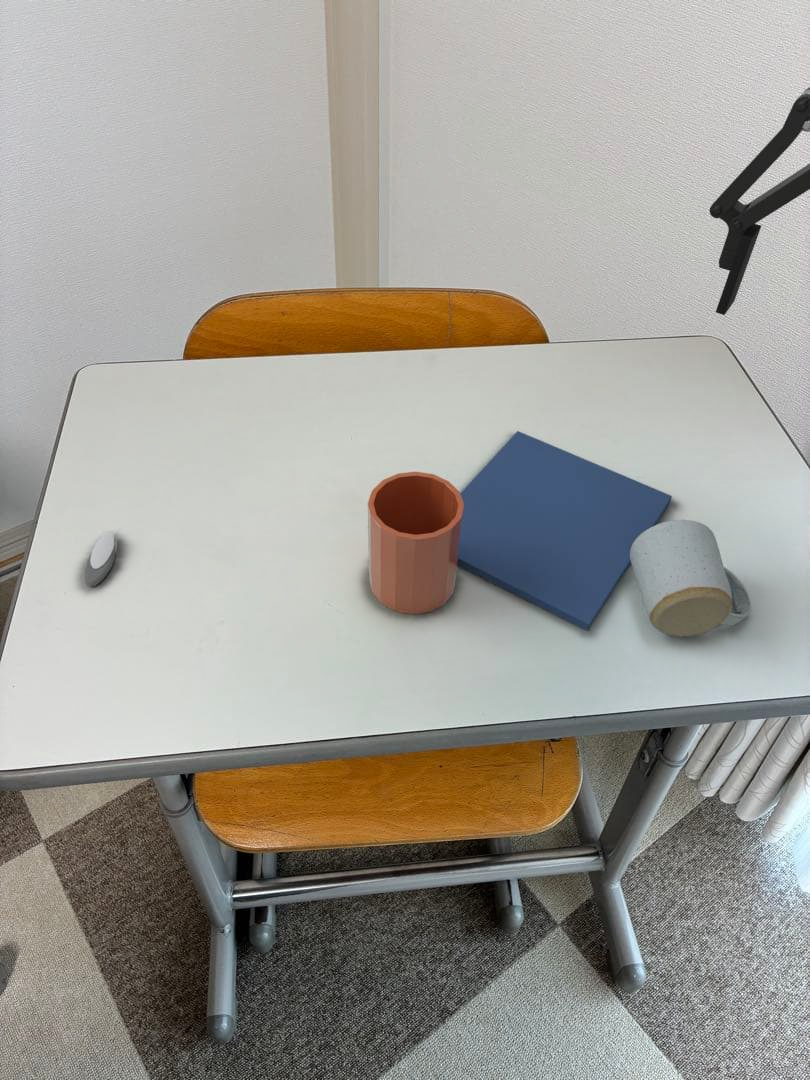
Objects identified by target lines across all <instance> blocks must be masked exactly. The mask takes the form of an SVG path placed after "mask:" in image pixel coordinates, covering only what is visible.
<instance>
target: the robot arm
mask: <svg viewBox="0 0 810 1080" xmlns="http://www.w3.org/2000/svg"><path fill="white" fill-rule="evenodd" d="M802 132H805V133H810V86H809V87H807V88H806V89H805V90H804V91H803V92H802V93H801V94H800V95H799V96H798V97H797V98H796V99H795V101H794V103H793V104H792V106H791V109H790V110H789V113H788V114H787V117H786V119H785V122H784V124H783V126H782V128H781V129H780V130H779V131H778V132H777V133H776V134H775V135H774V136H773V137H772V139H770V140H769V142H767V144H766V145H765V146H764V147H763V148H762V149H761V150H760V152H758V154H757V155H756V156H754V158H753V159H752V160H751V161H750V162H749V163H748V164H747V166H746V167H745V168H743V170H742V171H741V172H740V173H739V174H738V175H737V176H736V177H735V179H734V180H733V181H732V182H731V183H730V184H729V185H728V186H727V187H726V189H724V191H722V193H720V195H719V196H718V197H717V198H716V199H715V201H713V203H712V204H711V206H710V207H709V209H708V210H709V214H710V216H711V217H712V218H714V219H720V220H721V221H723V222H724V223H725V224H726V225H727V229H728V231H727V235H726V238H725V240H724V243H723V246H722V250H721V253H720V255H719V259H718V267H719V269H722V270H726V271H729V272H728V275H727V278H726V281H725V283H724V286H723V289H722V292H721V295H720V298H719V301H718V304H717V306H716V310H715V313H716V314H720V315H722V316H725V315H726V314H727V313H728V312H729V309H730V308H731V307H732V305H733V304H734V302H735V301H736V299H737V295H738V292H739V290H740V287H741V284H742V281H743V279H744V276H745V274H746V270H747V268H748V265H749V262H750V259H751V256H752V253H753V251H754V249H755V245H756V242H757V241H758V240H757V239H758V238H759V234H760V231H761V229H762V225H761V224H757V223H758V222H760V221H761V220H763V219H765V218H766V217H768V216H770V215H771V214H773V213H774V212H776V211H778V210H779V209H780V208H783V207H785V205H787V204H789V203H790V202H792V201H794V200H795V199H797V198H798V197H800V196H801V195H803V194H805V193H806V192H808V191H809V190H810V163H808V164H806V165H805V166H804V167H802V168H800V169H799V170H797V171H796V172H794V173H793V174H791V175H790V176H788V177H786V178H785V179H783V180H782V181H780V182H779V183H777V184H776V185H774V186H773V187H771V188H770V189H768V190H767V191H765V192H764V193H762V194H761V195H759V196H757V197H756V198H754V199H753V200H752V201H750V202H748V203H745V204H743V203H742V202H741V201H739V200H740V199H741V198H742V197H743V196H744V194H746V193H747V192H748V191H749V189H750V188H751V187H752V186H753V185H754V184H755V183H756V182H757V181H758V180H759V179H760V178H762V176H763V175H764V174H765V173H766V171H767V170H768V169H770V167H772V165H773V164H774V163H775V162H776V161H777V160H778V159H779V158H780V157H781V155H783V154H784V153H785V152H786V151H787V149H789V148H790V146H791V145H792V144H793V142H795V140H797V138H798V137H799V135H800V134H801V133H802Z"/></svg>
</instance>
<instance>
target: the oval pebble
mask: <svg viewBox="0 0 810 1080" xmlns="http://www.w3.org/2000/svg"><path fill="white" fill-rule="evenodd" d="M117 541H118V540H117V538H116V536H115V533H114V532H113V531H112V530H107V531H105V532H103V533H102V535H101V536H99V539H98V540H97V541H96V543H95V544H94V546H93V548H92V551H91V553H90V555H89V556H88V558H87V560H86V564H85V569H84V579H85V582H86V585H88V586H90V587H95V586H98V584H100V583H101V582H102V581H103V580H104V579H105V577H106V576H107V575H108V573H109V572H110V570H111V569H112V567H113V565H114V562H115V558H116V554H117V547H118V542H117Z"/></svg>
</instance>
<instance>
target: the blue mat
mask: <svg viewBox="0 0 810 1080" xmlns="http://www.w3.org/2000/svg"><path fill="white" fill-rule="evenodd" d="M460 494H461V497H462V500H463V503H464V512H463V522H462V531H461V540H460V549H459V558H458V567H461V568H462V569H465V570H467V571H468V572H471V573H472V574H474V575H476V576H478V577H480V578H482V579H483V580H486V581H488V582H490V583H492V584H494V585H495V586H498V587H499V588H502V589H504V590H506V591H508V592H510V593H512V594H514V595H516V596H517V597H520V598H522V599H523V600H525V601H527V602H530V603H531V604H534V605H535V606H537V607H539V608H541V609H543V610H545V611H547V612H549V613H551V614H553V615H555V616H557V617H559V618H560V619H563V620H565V621H567V622H569V623H571V624H573V625H575V626H576V627H579V628H580V629H582V630H584V631H588V630H589V629H590V627H591V625H593V622H594V621H595V620H596V618H597V617H598V615H599V613H600V612H601V610H602V609H603V608H604V606H605V604H606V603H607V601H608V599H609V598H610V596H611V595H612V593H613V592H614V590H615V589H616V587H617V586H618V584H619V582H620V581H621V579H622V578H623V576H624V574H626V572H627V570H628V569H629V567H630V565H632V563H631V560H630V550H631V547H632V544H633V543H634V541H635V540H636V538H637V537H638V536H639V535H640V534H641V533H643V532H644V531H646V530H647V529H649V528H651V527H653V526H655V525H657V523H658V522H659V521H660V519H661V517H662V515H663V514H664V512H665V511H666V510H667V508H668V507H669V505H670V503H671V500H672V498H673V496H672V495H671V494H668V493H666V492H663V491H661V490H659V489H656V488H654V487H652V486H649V485H647V484H645V483H642V482H640V481H638V480H635V479H633V478H630V477H628V476H626V475H623V474H621V473H618V472H616V471H614V470H612V469H609V468H606V467H605V466H602V465H600V464H597V463H595V462H593V461H590V460H588V459H585V458H583V457H580V456H578V455H576V454H573V453H571V452H569V451H567V450H564V449H563V448H559V447H557V446H554V445H552V444H550V443H548V442H545V441H543V440H540V439H538V438H536V437H533V436H531V435H528V434H527V433H524V432H521V431H519V430H517V431H516V432H515V433H514V434H513V435H512V436H511V438H509V440H508V441H506V443H505V444H504V445H502V447H501V448H500V450H498V452H497V453H495V455H494V456H493V457H492V458H491V459H490V460H489V461H488V462H487V464H486V465H485V466H484V467H483V468H482V469H481V470H480V471H479V472H478V474H477V475H476V476H475V477H474V478H473V479H472V480H471V481H470V482H469V483H468V484H467V485H466V486H465V488H464V489H463V490H462V491H460Z"/></svg>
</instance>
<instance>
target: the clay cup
mask: <svg viewBox="0 0 810 1080" xmlns="http://www.w3.org/2000/svg"><path fill="white" fill-rule="evenodd" d="M460 493H461V491H459V489H457V487H455V485H453V484H452V483H451V482H450V481H449V480H447V479H445V478H443V477H441V476H439V475H436V474H434V473H428V472H422V471H407V472H399V473H396V474H393V475H391V476H389V477H387V478H384V479H382V480H381V481H380V482H379V483H378V484H377V485H376V486H375V487H373V489H372V490H371V492H370V495H369V498H368V500H367V543H368V545H367V547H368V553H367V554H368V577H369V586H370V590H371V592H372V594H373V596H374V597H375V598H376V599H377V600H378V602H379V603H381V604H382V605H383V606H385V607H386V608H388V609H390V610H391V611H394V612H398V613H402V614H406V615H407V614H409V615H421V614H426V613H430V612H433V611H435V610H438V609H439V608H440V607H442V606H443V605H445V604H446V603H447V602H448V601H449V600H450V598H451V597H452V595H453V594H454V591H455V587H456V581H457V576H458V567H459V565H458V558H459V549H460V540H461V531H462V522H463V512H464V503H463V500H462V497H461V494H460Z"/></svg>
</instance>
